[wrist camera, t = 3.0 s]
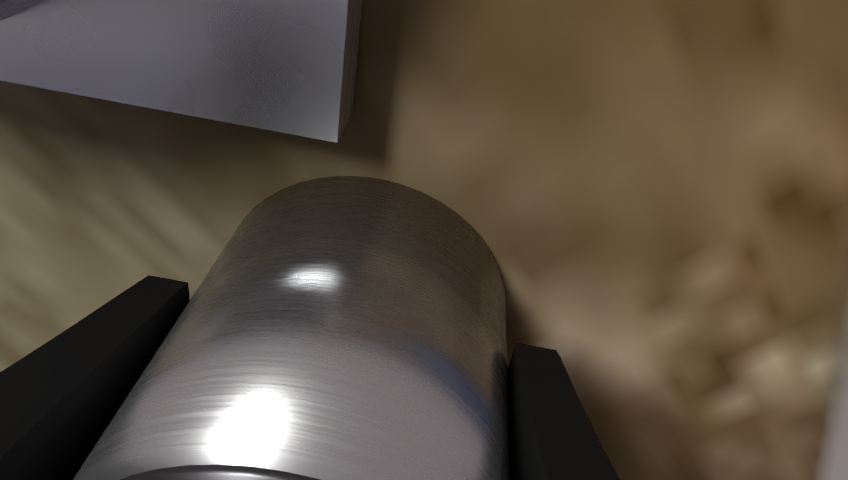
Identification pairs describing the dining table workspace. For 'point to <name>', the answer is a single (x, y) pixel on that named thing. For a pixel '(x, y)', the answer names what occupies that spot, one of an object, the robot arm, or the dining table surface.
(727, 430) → the dining table surface
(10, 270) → the dining table surface
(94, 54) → the barrel stand
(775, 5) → the dining table surface
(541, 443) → the robot arm
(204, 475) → the dark grey round knob
